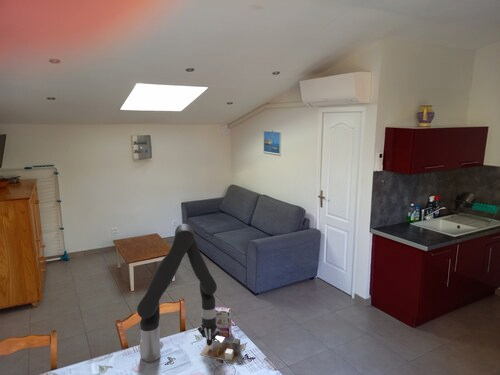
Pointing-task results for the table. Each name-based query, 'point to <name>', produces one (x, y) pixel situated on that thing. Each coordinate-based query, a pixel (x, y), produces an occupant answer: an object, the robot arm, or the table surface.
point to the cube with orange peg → (218, 344)
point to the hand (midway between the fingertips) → (209, 344)
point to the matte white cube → (229, 354)
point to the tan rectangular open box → (234, 346)
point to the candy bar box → (223, 321)
